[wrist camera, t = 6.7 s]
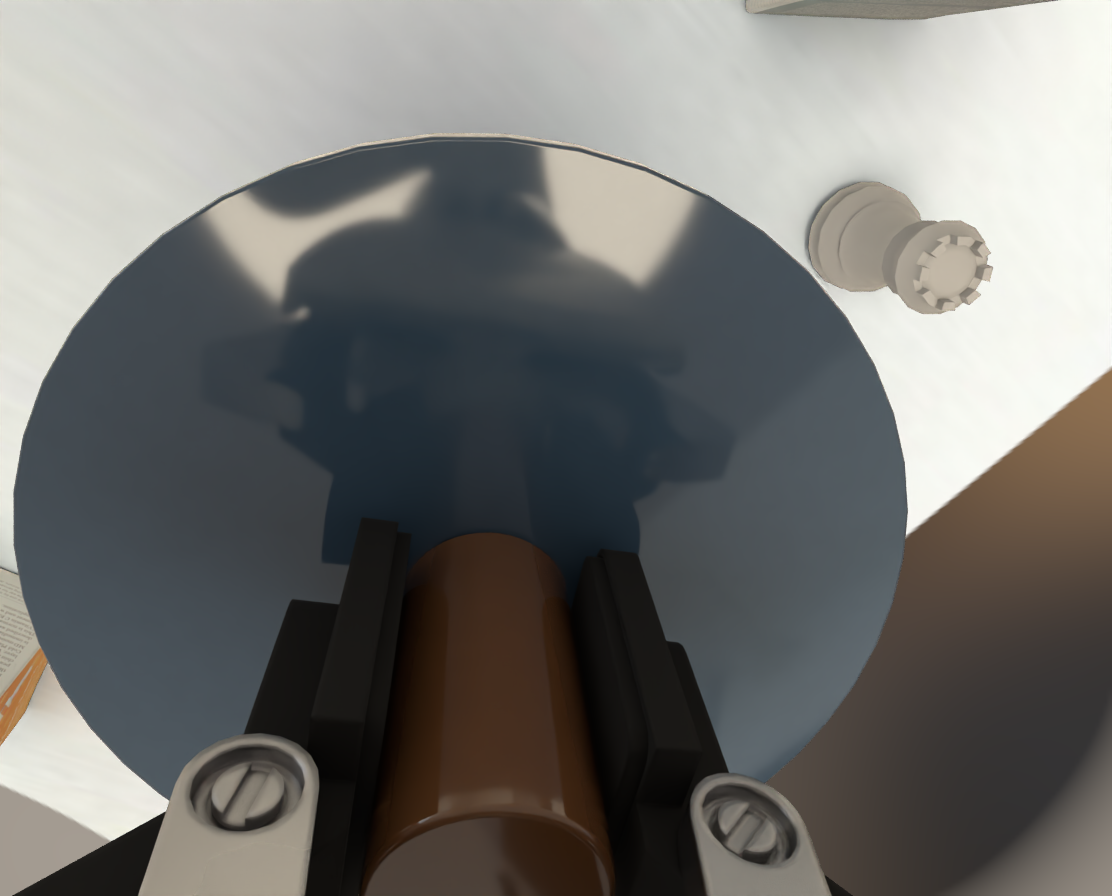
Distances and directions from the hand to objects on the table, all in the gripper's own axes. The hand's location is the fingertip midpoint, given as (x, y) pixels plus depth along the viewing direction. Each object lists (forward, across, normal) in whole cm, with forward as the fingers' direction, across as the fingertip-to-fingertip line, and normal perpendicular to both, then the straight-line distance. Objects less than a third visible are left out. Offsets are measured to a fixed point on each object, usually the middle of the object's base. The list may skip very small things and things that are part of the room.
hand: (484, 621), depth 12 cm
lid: (+1, 0, 0) cm, 1 cm away
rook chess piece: (+24, -16, -4) cm, 29 cm away
